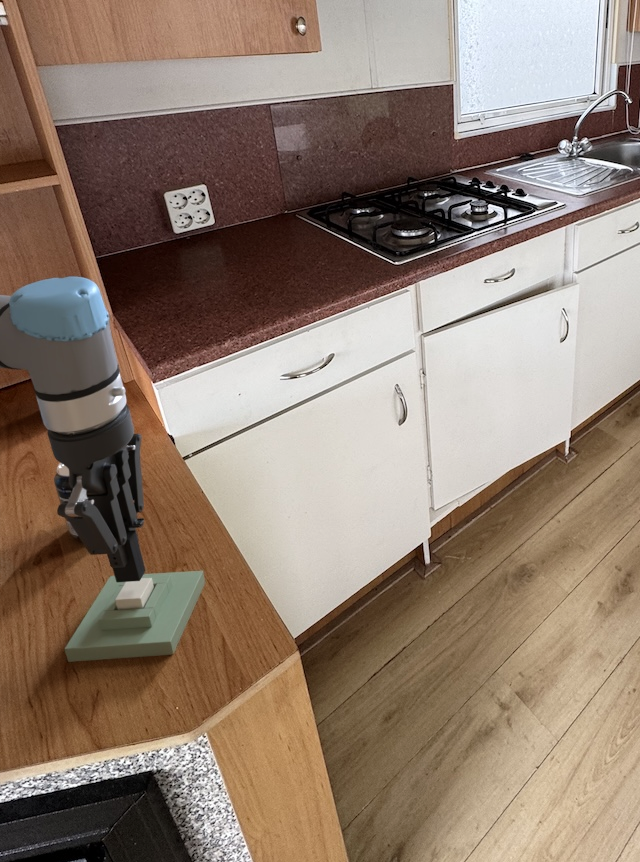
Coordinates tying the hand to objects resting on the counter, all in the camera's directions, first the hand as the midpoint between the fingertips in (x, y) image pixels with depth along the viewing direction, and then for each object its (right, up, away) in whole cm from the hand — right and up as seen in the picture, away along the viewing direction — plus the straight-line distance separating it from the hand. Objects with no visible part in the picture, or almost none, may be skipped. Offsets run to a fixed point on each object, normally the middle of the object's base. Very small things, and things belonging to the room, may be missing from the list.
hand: (131, 576), depth 71 cm
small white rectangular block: (0, -4, +1) cm, 4 cm away
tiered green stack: (0, -7, +3) cm, 7 cm away
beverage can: (-16, -2, +16) cm, 23 cm away
